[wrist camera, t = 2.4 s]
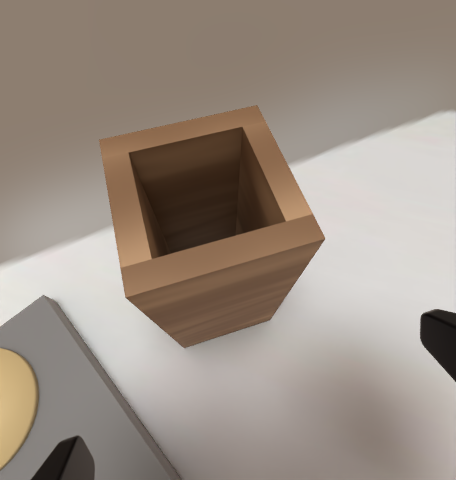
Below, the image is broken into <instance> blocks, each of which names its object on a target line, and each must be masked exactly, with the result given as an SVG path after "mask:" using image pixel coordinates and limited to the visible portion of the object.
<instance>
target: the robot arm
mask: <svg viewBox="0 0 456 480" xmlns="http://www.w3.org/2000/svg"><path fill="white" fill-rule="evenodd" d="M420 339H421V342H422V344H423V345H424V347H425V348H426V349H427V350H428V351H429V353H430V354H431V355H432V356H433V357H434V358H435V359H436V360H437V361H438V363H439V364H440V365H441V366H442V367H443V368H444V369H445V370H446V371H447V373H448V374H449V375H450V376H451V377H452V378H453V379H454V380H455V382H456V313H452V312H448V311H444V310H440V309H434V310H431V311H428V312H425V313H423V314H422V315H421V321H420ZM94 478H95V463H94V458H93V456H92V454H91V452H90V451H89V449H88V447H87V445H86V443H85V442H84V440H83V438H82V437H81V436H79V435H76V436H73V437H70V438H67V439H64V440H62V441H60V442H59V443H58V444H57V445H56V447H55V448H54V449H53V451H52V452H51V453H50V455H49V456H48V457H47V459H46V460H45V461H44V462H43V464H42V465H41V466H40V468H39V469H38V470H37V472H36V473H35V474H34V476H33V477H32V478H31V480H94Z"/></svg>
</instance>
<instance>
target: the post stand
mask: <svg viewBox="0 0 456 480" xmlns="http://www.w3.org/2000/svg"><path fill="white" fill-rule="evenodd" d="M76 435H79V436H81V437H82V438H83V440H84V442H85V443H86V445H87V447H88V449H89V451H90V452H91V454H92V456H93V458H94V463H95V478H94V480H181V478H180V477H179V475H178V474H177V473H176V471H175V470H174V468H173V467H172V466H171V464H170V463H169V461H168V460H167V458H166V457H165V456H164V454H163V453H162V451H161V450H160V449H159V447H158V446H157V444H156V443H155V441H154V440H153V439H152V437H151V436H150V434H149V433H148V432H147V430H146V429H145V427H144V426H143V424H142V423H141V422H140V420H139V419H138V417H137V416H136V415H135V413H134V412H133V410H132V409H131V407H130V406H129V405H128V403H127V402H126V400H125V399H124V398H123V396H122V395H121V393H120V392H119V390H118V389H117V388H116V386H115V385H114V383H113V382H112V381H111V379H110V378H109V376H108V375H107V373H106V372H105V371H104V369H103V368H102V366H101V365H100V364H99V362H98V361H97V359H96V358H95V356H94V355H93V354H92V352H91V351H90V349H89V348H88V347H87V345H86V344H85V342H84V341H83V340H82V338H81V337H80V335H79V334H78V332H77V331H76V330H75V328H74V327H73V325H72V324H71V323H70V321H69V320H68V318H67V317H66V315H65V314H64V313H63V311H62V310H61V308H60V307H59V306H58V304H57V303H56V301H54V300H52V299H50V298H48V297H46V296H44V295H43V296H41V297H40V298H39V299H37V300H36V301H34V302H33V303H32V304H30V305H29V306H28V307H26V308H25V309H24V310H22V311H21V312H20V313H18V314H17V315H15V316H14V317H13V318H11V319H10V320H9V321H7V322H6V323H5V324H3V325H2V326H1V327H0V480H31V478H32V477H33V476H34V474H35V473H36V472H37V470H38V469H39V468H40V466H41V465H42V464H43V462H44V461H45V460H46V459H47V457H48V456H49V455H50V453H51V452H52V451H53V449H54V448H55V447H56V445H57V444H58V443H59V442H60V441H62V440H64V439H67V438H70V437H73V436H76Z"/></svg>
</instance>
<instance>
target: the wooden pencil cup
mask: <svg viewBox="0 0 456 480" xmlns="http://www.w3.org/2000/svg"><path fill="white" fill-rule="evenodd" d="M99 142H100V148H101V154H102V160H103V166H104V171H105V178H106V184H107V190H108V196H109V202H110V207H111V213H112V219H113V226H114V232H115V238H116V244H117V250H118V256H119V262H120V268H121V274H122V280H123V286H124V292H125V298H127V299H128V300H129V301H130V302H131V303H132V304H134V305H135V306H136V307H137V308H138V309H139V310H141V311H142V312H143V313H144V314H145V315H146V316H148V317H149V318H150V319H151V320H152V321H153V322H154V323H156V324H157V325H158V326H159V327H160V328H161V329H163V330H164V331H165V332H166V333H167V334H168V335H170V336H171V337H172V338H173V339H174V340H175V341H177V342H178V343H179V344H180V345H181V346H182V347H184V348H186V347H189V346H192V345H195V344H198V343H201V342H204V341H207V340H210V339H213V338H216V337H219V336H222V335H226V334H229V333H232V332H235V331H238V330H241V329H244V328H247V327H250V326H253V325H256V324H259V323H262V322H265V321H268V320H270V319H271V318H272V316H273V315H274V313H275V312H276V310H277V309H278V307H279V306H280V305H281V303H282V302H283V300H284V299H285V297H286V296H287V294H288V293H289V291H290V290H291V288H292V287H293V285H294V284H295V283H296V281H297V280H298V278H299V277H300V275H301V274H302V272H303V271H304V269H305V268H306V266H307V265H308V263H309V262H310V261H311V259H312V258H313V256H314V255H315V253H316V252H317V250H318V249H319V247H320V246H321V244H322V243H323V241H324V240H325V237H324V235H323V233H322V231H321V229H320V227H319V225H318V223H317V221H316V219H315V217H314V215H313V213H312V211H311V209H310V207H309V205H308V204H307V202H306V200H305V198H304V196H303V194H302V192H301V190H300V188H299V186H298V184H297V182H296V180H295V178H294V176H293V174H292V172H291V170H290V168H289V167H288V165H287V163H286V161H285V159H284V157H283V155H282V153H281V151H280V149H279V147H278V145H277V143H276V141H275V139H274V137H273V136H272V133H271V131H270V130H269V128H268V126H267V124H266V122H265V120H264V118H263V116H262V114H261V112H260V110H259V108H258V106H257V105H256V106H251V107H247V108H242V109H238V110H233V111H229V112H224V113H220V114H215V115H211V116H206V117H201V118H197V119H192V120H187V121H183V122H178V123H174V124H169V125H165V126H160V127H155V128H151V129H146V130H142V131H137V132H133V133H128V134H124V135H119V136H115V137H110V138H105V139H101V140H99Z"/></svg>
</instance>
